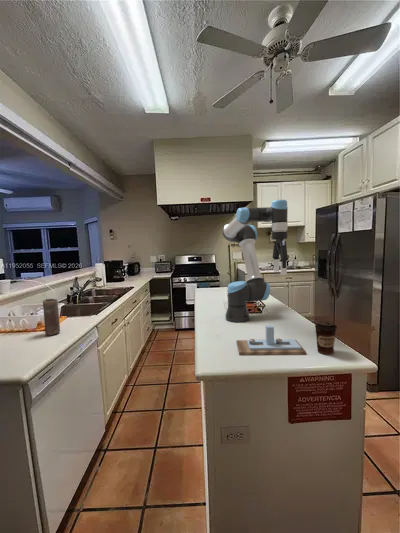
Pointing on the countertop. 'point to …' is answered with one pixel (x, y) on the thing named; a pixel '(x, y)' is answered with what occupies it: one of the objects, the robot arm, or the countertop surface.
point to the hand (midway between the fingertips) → (279, 273)
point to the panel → (276, 346)
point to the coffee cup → (325, 336)
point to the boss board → (245, 350)
